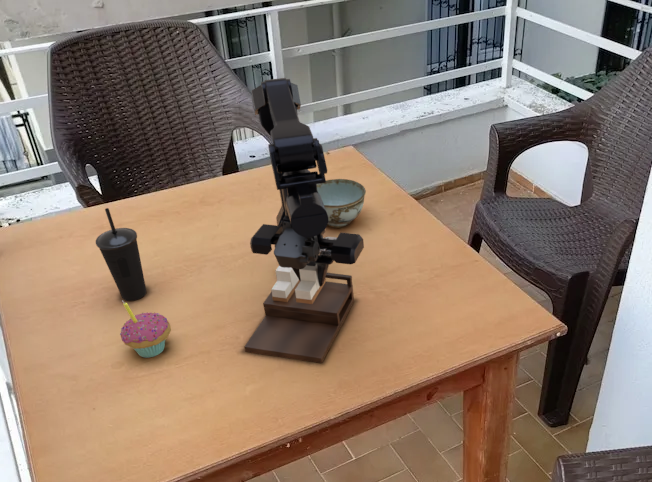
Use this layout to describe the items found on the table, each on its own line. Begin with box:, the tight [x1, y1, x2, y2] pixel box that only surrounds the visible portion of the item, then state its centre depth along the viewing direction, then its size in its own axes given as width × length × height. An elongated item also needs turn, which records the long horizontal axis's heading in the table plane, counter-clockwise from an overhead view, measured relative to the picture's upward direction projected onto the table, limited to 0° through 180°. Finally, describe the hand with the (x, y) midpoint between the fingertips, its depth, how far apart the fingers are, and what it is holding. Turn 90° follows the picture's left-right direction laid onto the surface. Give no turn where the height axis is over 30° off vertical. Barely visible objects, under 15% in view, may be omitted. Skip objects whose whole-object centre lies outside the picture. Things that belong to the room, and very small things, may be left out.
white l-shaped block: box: [270, 265, 300, 302], centre depth 133 cm, size 7×3×5 cm, turn 167°
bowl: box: [317, 178, 367, 228], centre depth 163 cm, size 14×13×8 cm
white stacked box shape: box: [295, 261, 327, 304], centre depth 121 cm, size 7×3×5 cm, turn 167°
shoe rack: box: [244, 272, 355, 364], centre depth 131 cm, size 15×19×6 cm
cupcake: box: [119, 299, 172, 359], centre depth 124 cm, size 9×8×12 cm
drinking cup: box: [95, 207, 147, 302], centre depth 136 cm, size 8×8×20 cm
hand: (312, 284), depth 123 cm, fingers closed on white stacked box shape, 3 cm apart
